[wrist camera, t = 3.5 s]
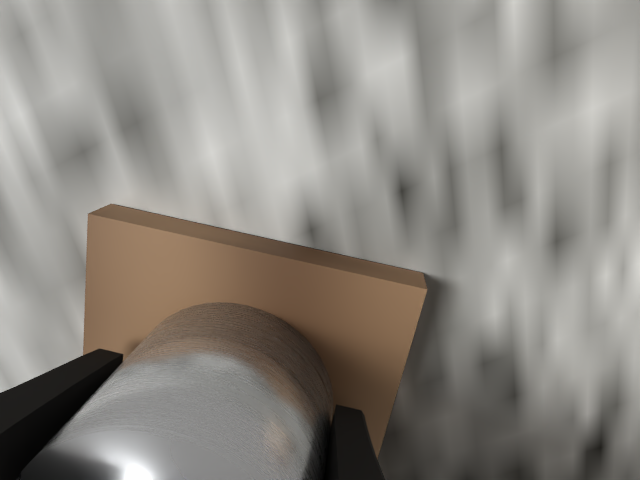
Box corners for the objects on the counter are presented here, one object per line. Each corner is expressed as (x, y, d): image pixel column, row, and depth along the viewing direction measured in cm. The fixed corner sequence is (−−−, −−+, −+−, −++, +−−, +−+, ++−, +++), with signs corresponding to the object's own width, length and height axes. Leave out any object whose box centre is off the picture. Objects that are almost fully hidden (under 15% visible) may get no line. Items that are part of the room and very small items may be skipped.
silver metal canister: (128, 450, 13) (7, 628, 9) (141, 281, 11) (-2, 397, 7) (312, 495, 13) (281, 701, 8) (353, 329, 11) (340, 480, 7)
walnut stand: (98, 452, 14) (79, 477, 13) (111, 203, 12) (88, 213, 11) (353, 515, 14) (351, 545, 13) (422, 273, 11) (427, 289, 10)
